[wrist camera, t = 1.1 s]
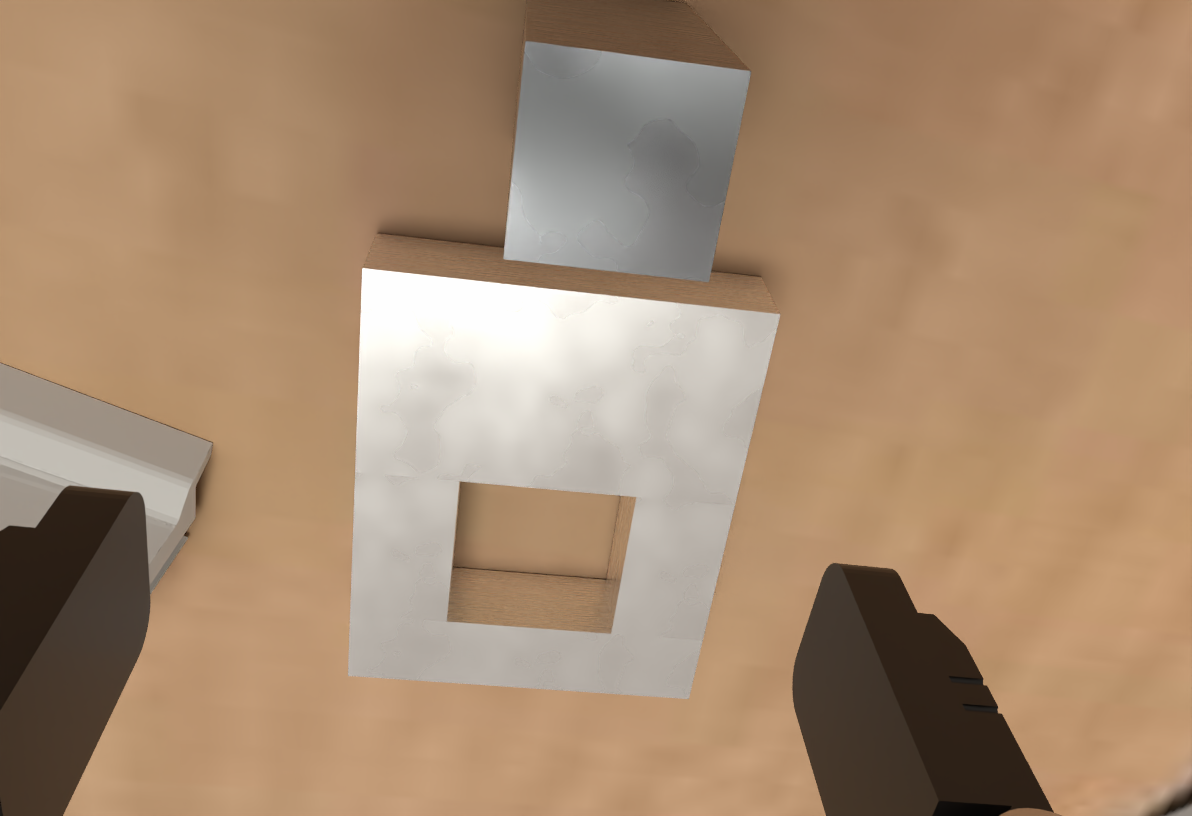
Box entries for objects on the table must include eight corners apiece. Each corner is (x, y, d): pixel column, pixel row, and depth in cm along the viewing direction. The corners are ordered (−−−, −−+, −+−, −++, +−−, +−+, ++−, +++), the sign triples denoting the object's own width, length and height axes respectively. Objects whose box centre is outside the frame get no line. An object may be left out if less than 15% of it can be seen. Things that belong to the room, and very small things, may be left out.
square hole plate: (377, 232, 32) (362, 268, 29) (760, 276, 33) (780, 314, 30) (360, 619, 39) (348, 675, 36) (678, 642, 40) (688, 698, 37)
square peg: (528, -20, 29) (525, 40, 20) (686, 2, 29) (751, 71, 20) (512, 140, 31) (503, 258, 22) (660, 159, 31) (709, 282, 22)
